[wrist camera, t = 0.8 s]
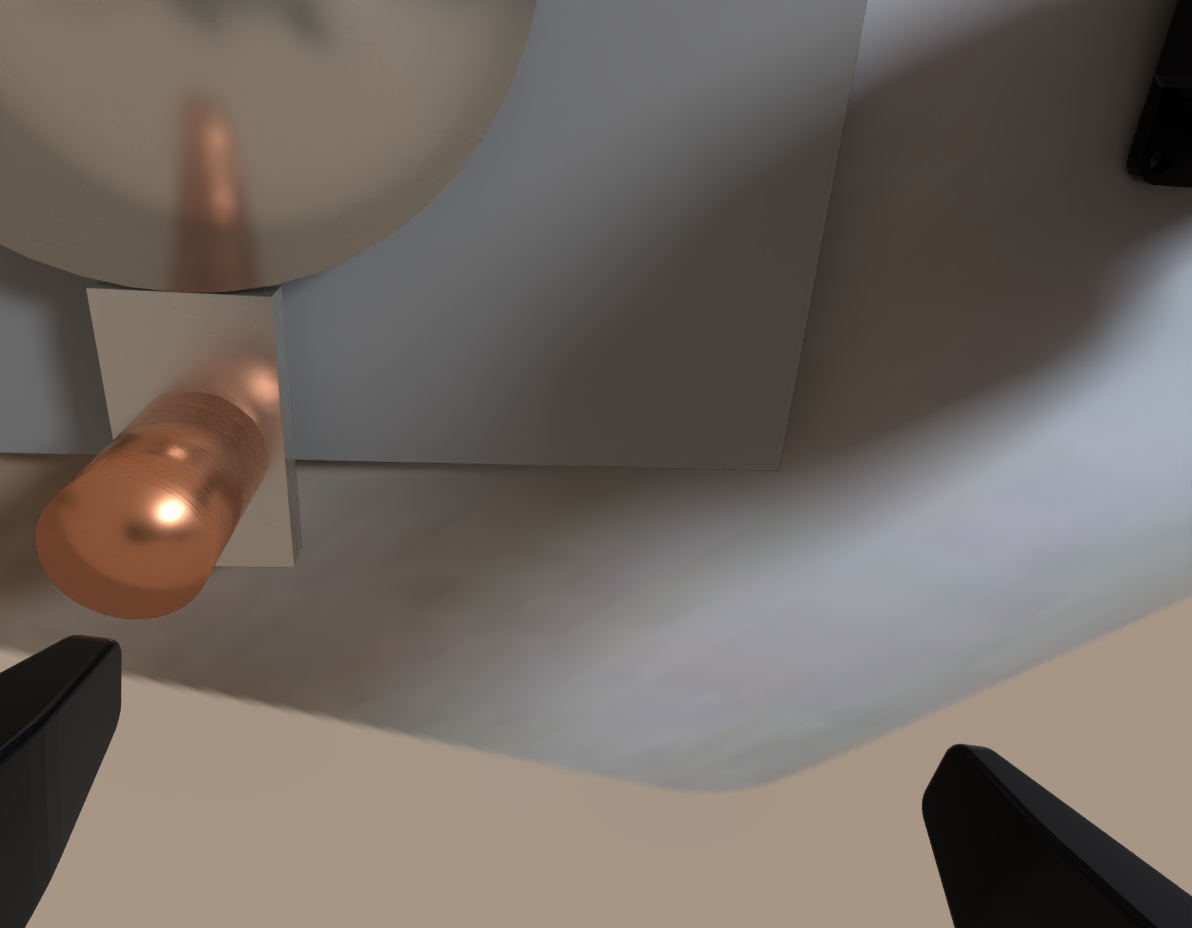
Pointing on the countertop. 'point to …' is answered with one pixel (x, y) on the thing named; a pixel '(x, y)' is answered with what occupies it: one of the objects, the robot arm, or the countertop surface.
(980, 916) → the robot arm
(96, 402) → the slate board
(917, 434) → the countertop surface
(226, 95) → the flange plate
